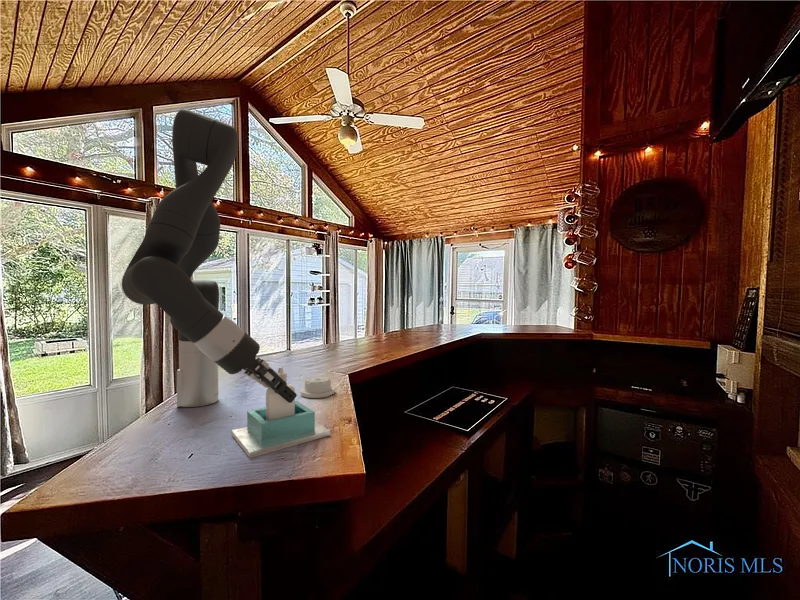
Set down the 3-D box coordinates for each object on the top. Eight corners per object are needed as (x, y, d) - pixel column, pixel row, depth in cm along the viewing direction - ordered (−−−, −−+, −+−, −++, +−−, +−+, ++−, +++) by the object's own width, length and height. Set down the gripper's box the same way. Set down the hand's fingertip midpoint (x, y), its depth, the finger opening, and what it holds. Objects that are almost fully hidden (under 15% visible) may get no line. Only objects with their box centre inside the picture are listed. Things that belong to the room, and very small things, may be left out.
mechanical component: (294, 398, 98) (327, 400, 96) (294, 382, 98) (327, 384, 96) (309, 389, 108) (339, 390, 106) (309, 375, 108) (339, 376, 106)
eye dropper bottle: (291, 428, 70) (291, 369, 69) (263, 428, 69) (263, 369, 69) (296, 420, 74) (296, 365, 74) (270, 420, 74) (270, 365, 73)
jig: (249, 458, 62) (249, 430, 62) (231, 435, 72) (231, 411, 72) (330, 435, 72) (330, 411, 72) (304, 417, 82) (304, 397, 82)
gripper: (253, 333, 61) (316, 389, 69) (233, 326, 72) (289, 376, 80) (220, 366, 58) (290, 421, 66) (204, 354, 69) (266, 403, 77)
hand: (289, 396), depth 73 cm, fingers closed on eye dropper bottle, 3 cm apart
